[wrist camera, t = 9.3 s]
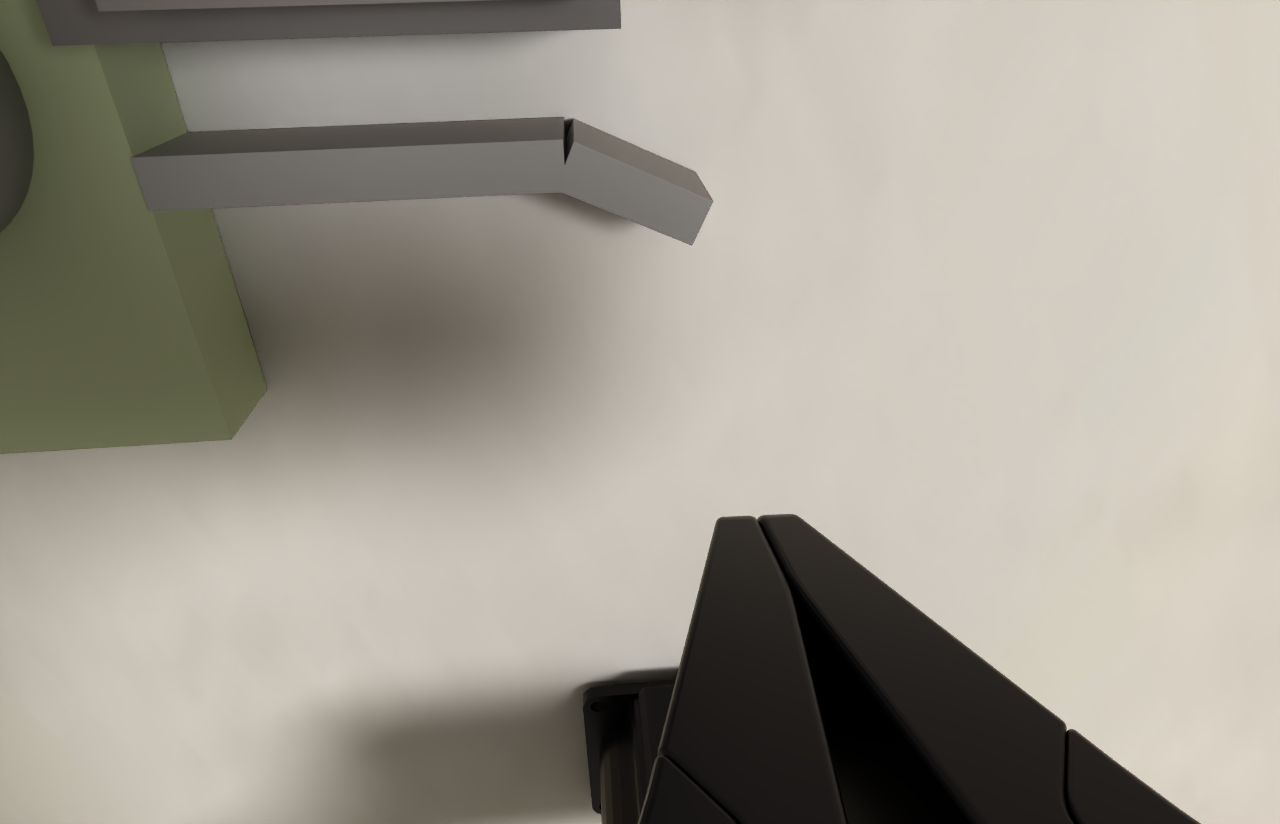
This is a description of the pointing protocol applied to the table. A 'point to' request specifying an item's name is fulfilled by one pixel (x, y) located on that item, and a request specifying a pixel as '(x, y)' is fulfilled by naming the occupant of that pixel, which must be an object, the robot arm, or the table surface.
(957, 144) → the table surface
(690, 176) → the green block with prongs
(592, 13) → the two tier gray step
